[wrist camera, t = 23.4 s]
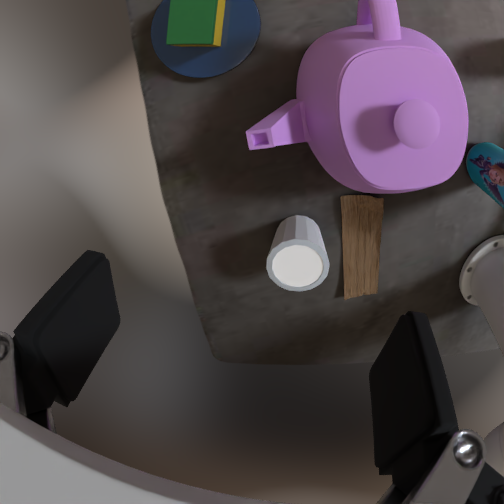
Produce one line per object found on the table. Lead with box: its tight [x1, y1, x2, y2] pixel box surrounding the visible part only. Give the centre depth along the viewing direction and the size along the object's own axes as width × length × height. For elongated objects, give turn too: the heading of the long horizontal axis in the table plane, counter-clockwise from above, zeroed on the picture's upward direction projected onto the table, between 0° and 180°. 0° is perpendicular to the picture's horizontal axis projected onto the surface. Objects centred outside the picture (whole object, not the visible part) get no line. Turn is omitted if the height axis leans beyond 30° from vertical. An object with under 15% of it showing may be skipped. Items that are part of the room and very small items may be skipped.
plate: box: [151, 0, 261, 78], centre depth 27 cm, size 12×12×1 cm
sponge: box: [166, 0, 226, 47], centre depth 24 cm, size 4×7×4 cm, turn 174°
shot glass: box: [266, 215, 330, 291], centre depth 37 cm, size 7×7×7 cm
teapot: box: [246, 0, 468, 194], centre depth 23 cm, size 20×20×15 cm
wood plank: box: [340, 195, 384, 300], centre depth 39 cm, size 15×2×5 cm
